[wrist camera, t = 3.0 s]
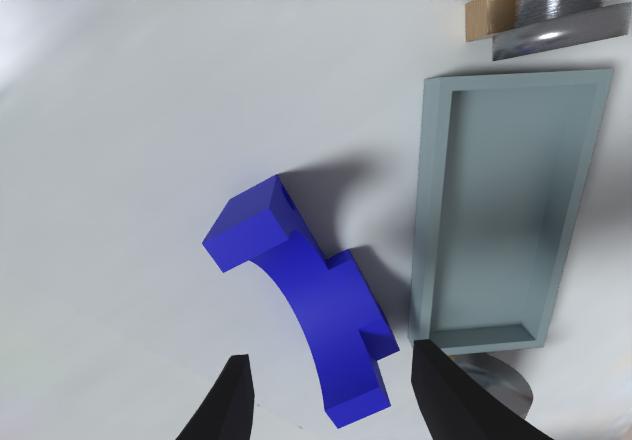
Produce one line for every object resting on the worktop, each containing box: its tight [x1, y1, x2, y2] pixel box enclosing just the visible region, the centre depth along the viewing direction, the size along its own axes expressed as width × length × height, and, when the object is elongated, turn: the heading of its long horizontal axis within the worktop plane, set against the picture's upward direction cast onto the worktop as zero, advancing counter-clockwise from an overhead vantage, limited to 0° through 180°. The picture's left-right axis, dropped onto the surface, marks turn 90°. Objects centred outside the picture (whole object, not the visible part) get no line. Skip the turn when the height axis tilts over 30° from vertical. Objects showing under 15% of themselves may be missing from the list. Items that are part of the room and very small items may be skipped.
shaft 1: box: [447, 353, 533, 419], centre depth 21 cm, size 5×4×5 cm
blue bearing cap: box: [202, 174, 400, 429], centre depth 17 cm, size 12×4×6 cm, turn 28°
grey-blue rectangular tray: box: [408, 69, 614, 355], centre depth 18 cm, size 16×8×2 cm, turn 3°
